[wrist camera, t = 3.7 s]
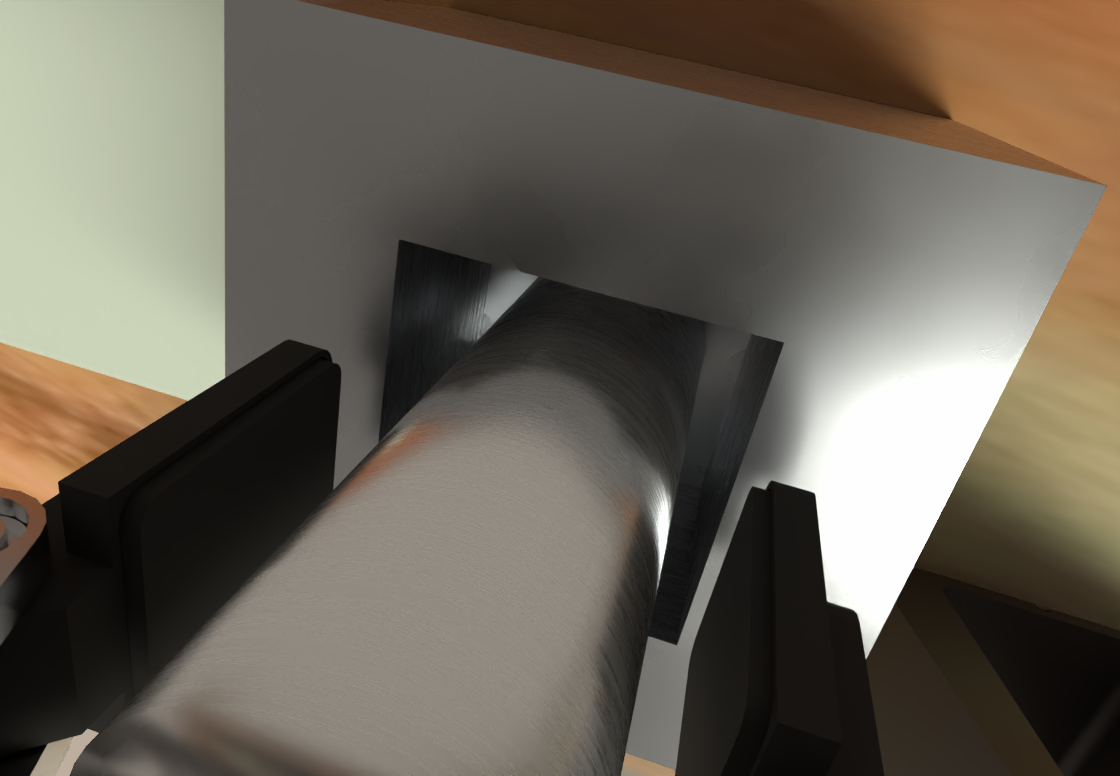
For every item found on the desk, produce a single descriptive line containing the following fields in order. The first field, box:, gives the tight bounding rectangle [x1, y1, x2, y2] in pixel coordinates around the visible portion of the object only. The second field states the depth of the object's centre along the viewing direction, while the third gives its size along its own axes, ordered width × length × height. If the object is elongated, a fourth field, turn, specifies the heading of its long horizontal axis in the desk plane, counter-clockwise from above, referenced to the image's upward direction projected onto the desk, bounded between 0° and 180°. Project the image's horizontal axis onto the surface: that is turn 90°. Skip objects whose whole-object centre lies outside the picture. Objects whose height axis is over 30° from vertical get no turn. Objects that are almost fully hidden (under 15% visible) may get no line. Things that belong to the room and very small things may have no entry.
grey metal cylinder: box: [70, 277, 704, 776], centre depth 11 cm, size 4×4×12 cm
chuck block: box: [224, 0, 1107, 770], centre depth 15 cm, size 11×11×8 cm
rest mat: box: [0, 0, 225, 401], centre depth 20 cm, size 12×12×1 cm
